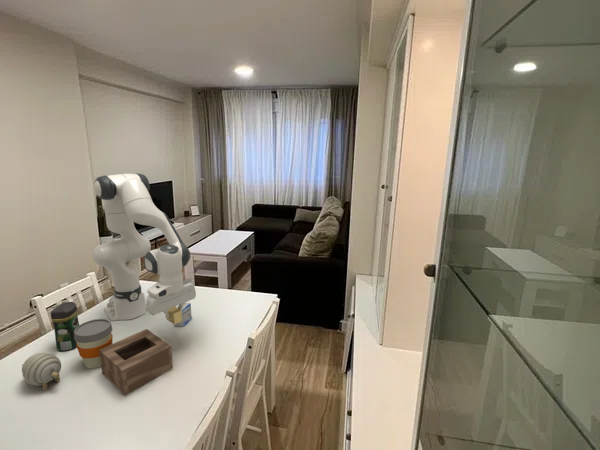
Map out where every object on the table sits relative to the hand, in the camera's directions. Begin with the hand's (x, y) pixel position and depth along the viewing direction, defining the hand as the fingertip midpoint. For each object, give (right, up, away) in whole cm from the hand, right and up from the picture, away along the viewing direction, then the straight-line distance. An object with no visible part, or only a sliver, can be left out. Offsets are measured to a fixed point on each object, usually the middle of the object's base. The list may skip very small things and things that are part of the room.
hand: (173, 315), depth 134 cm
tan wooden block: (0, -2, +1) cm, 2 cm away
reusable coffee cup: (-28, -17, -5) cm, 33 cm away
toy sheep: (-39, -20, -18) cm, 47 cm away
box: (-10, -18, -10) cm, 23 cm away
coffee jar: (-46, -14, +4) cm, 48 cm away
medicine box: (-4, -10, +24) cm, 26 cm away
